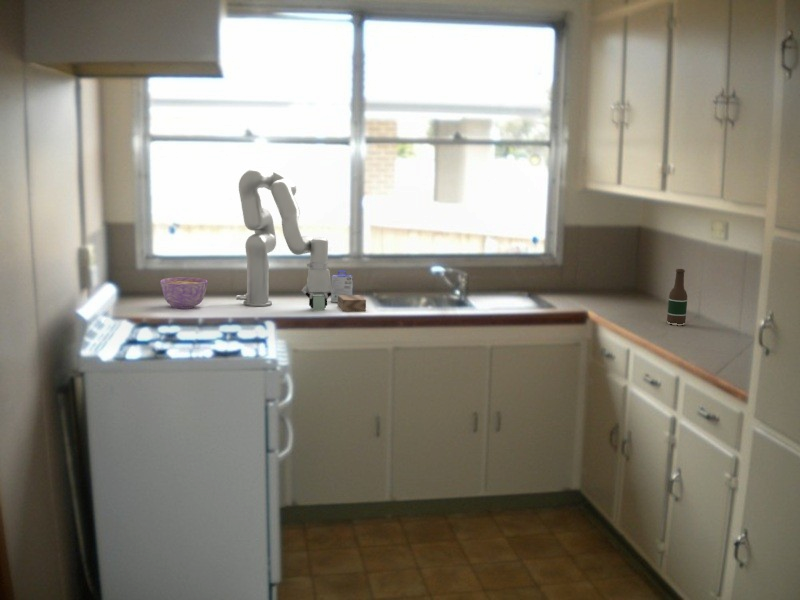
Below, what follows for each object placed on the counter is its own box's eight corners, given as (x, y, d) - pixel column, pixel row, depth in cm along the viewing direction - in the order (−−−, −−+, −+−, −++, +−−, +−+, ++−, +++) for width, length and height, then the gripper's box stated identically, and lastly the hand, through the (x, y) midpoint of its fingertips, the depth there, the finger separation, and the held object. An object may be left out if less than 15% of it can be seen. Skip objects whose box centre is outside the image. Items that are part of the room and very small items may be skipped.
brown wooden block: (343, 311, 393) (343, 300, 392) (337, 306, 405) (338, 295, 404) (365, 311, 395) (366, 299, 394) (359, 306, 407) (359, 295, 407)
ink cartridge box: (352, 300, 421) (352, 270, 418) (352, 302, 415) (353, 271, 413) (330, 300, 420) (331, 269, 417) (330, 302, 414) (331, 271, 412)
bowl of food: (217, 307, 391) (217, 281, 389) (177, 313, 376) (177, 285, 374) (190, 301, 404) (189, 276, 402) (151, 306, 389) (150, 279, 388)
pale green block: (313, 310, 393) (313, 296, 392) (311, 308, 398) (311, 294, 397) (324, 310, 395) (324, 296, 394) (322, 308, 399) (322, 294, 398)
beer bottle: (688, 325, 386) (693, 270, 382) (673, 326, 384) (677, 270, 380) (678, 322, 394) (683, 267, 390) (662, 322, 391) (667, 268, 387)
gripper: (300, 267, 387) (299, 309, 390) (339, 267, 392) (338, 308, 395) (298, 265, 395) (297, 306, 398) (336, 265, 399) (335, 305, 402)
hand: (318, 306), depth 396 cm, fingers closed on pale green block, 5 cm apart
